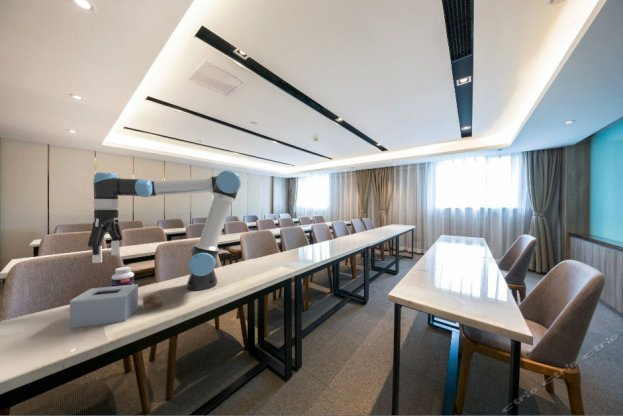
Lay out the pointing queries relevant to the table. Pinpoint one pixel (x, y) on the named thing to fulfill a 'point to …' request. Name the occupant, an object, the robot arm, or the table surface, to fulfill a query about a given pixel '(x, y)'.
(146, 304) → the token
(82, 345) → the table surface
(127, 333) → the table surface
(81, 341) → the table surface
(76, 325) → the box
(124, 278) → the pill bottle
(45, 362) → the table surface
